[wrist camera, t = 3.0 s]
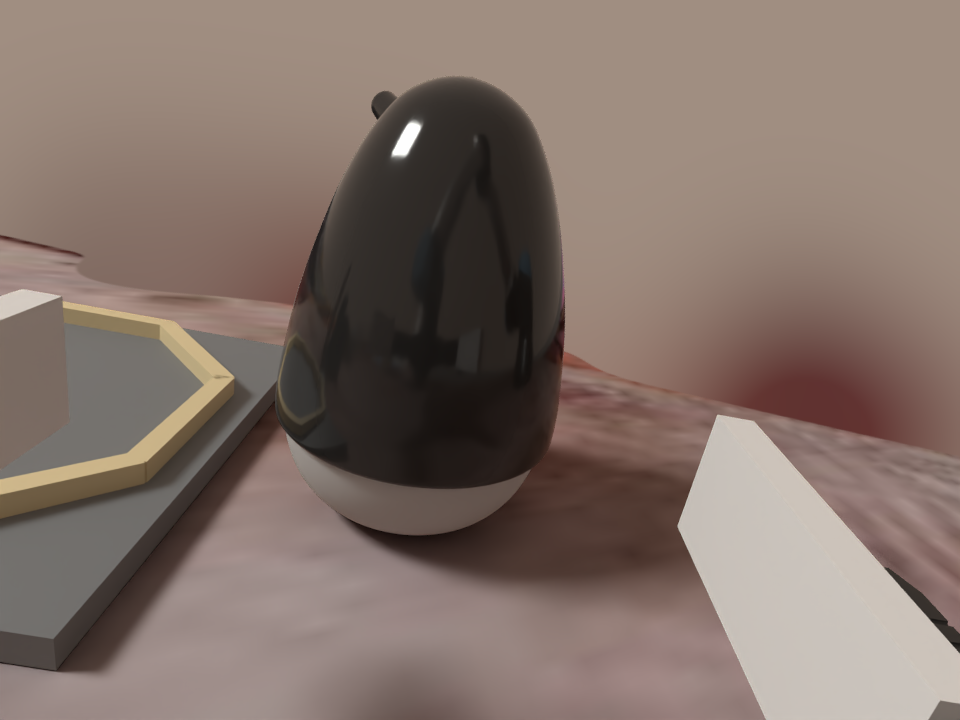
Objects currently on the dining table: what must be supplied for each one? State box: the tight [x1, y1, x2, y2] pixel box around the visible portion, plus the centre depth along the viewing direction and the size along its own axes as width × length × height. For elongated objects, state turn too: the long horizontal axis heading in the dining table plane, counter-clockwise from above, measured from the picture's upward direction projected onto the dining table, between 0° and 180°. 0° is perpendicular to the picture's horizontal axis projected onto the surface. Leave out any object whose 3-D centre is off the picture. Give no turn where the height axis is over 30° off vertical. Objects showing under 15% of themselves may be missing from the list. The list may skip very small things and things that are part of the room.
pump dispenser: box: [275, 76, 565, 535], centre depth 22 cm, size 10×10×15 cm
